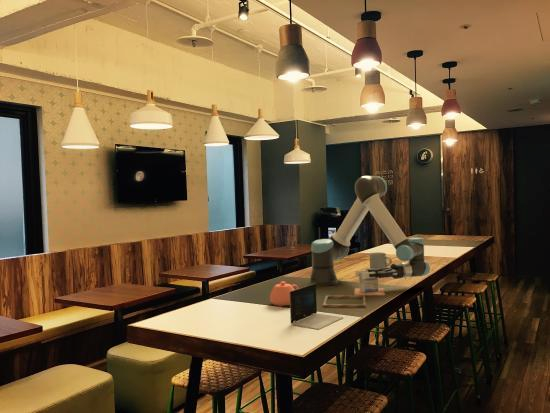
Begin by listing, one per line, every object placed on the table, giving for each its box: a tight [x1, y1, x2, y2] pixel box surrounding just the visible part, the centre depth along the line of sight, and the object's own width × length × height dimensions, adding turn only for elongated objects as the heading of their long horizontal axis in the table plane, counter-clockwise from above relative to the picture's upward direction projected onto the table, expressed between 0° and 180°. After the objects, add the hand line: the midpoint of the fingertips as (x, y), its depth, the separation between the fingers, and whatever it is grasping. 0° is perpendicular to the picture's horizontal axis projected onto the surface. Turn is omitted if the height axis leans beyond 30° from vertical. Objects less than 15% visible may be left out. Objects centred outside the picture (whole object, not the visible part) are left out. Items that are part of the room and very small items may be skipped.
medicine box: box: [358, 274, 379, 293], centre depth 222 cm, size 8×4×9 cm, turn 110°
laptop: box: [289, 283, 344, 330], centre depth 175 cm, size 18×12×13 cm
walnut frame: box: [322, 295, 367, 308], centre depth 203 cm, size 18×18×1 cm
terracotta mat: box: [353, 287, 386, 296], centre depth 222 cm, size 14×14×1 cm
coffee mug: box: [369, 251, 393, 269], centre depth 285 cm, size 13×10×10 cm
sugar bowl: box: [269, 281, 299, 308], centre depth 204 cm, size 12×14×10 cm
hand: (359, 274), depth 220 cm, fingers open, 5 cm apart
